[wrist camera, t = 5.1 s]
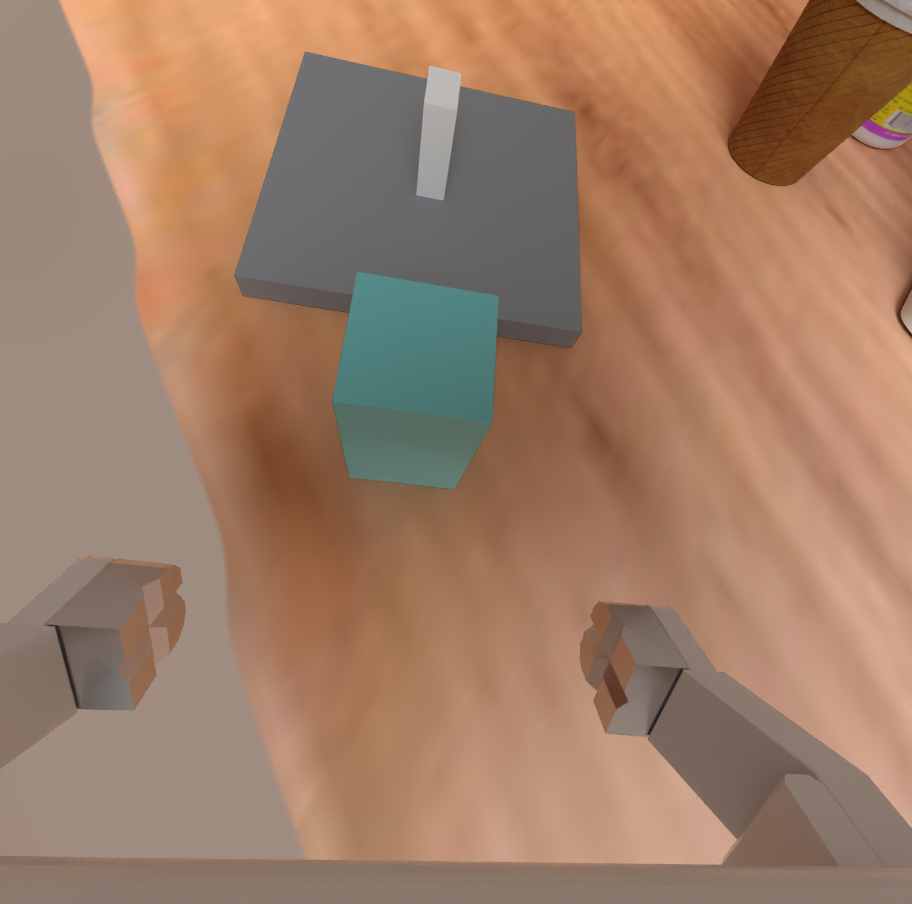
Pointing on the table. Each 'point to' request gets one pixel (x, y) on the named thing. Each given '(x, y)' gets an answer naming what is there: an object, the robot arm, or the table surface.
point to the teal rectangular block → (415, 380)
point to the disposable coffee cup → (824, 85)
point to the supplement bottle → (889, 123)
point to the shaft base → (419, 197)
